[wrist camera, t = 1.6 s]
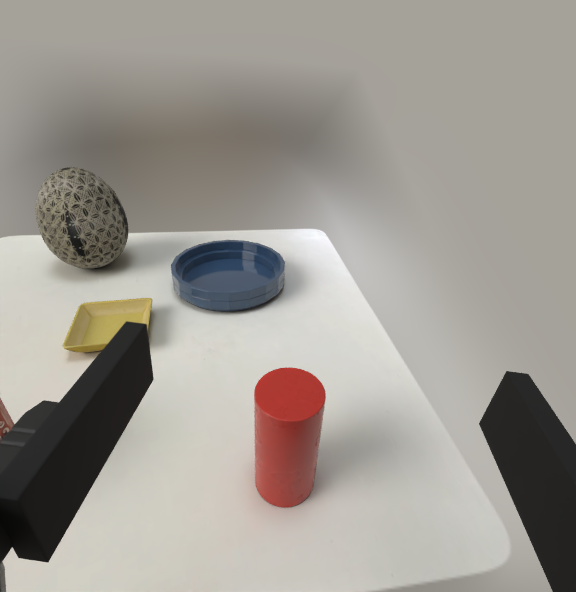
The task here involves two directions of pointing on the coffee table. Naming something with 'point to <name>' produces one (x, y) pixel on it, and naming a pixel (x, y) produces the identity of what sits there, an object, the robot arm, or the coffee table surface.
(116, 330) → the saucer
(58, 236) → the decorative egg
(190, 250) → the dish
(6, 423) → the lighter
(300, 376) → the cylinder
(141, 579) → the coffee table surface
